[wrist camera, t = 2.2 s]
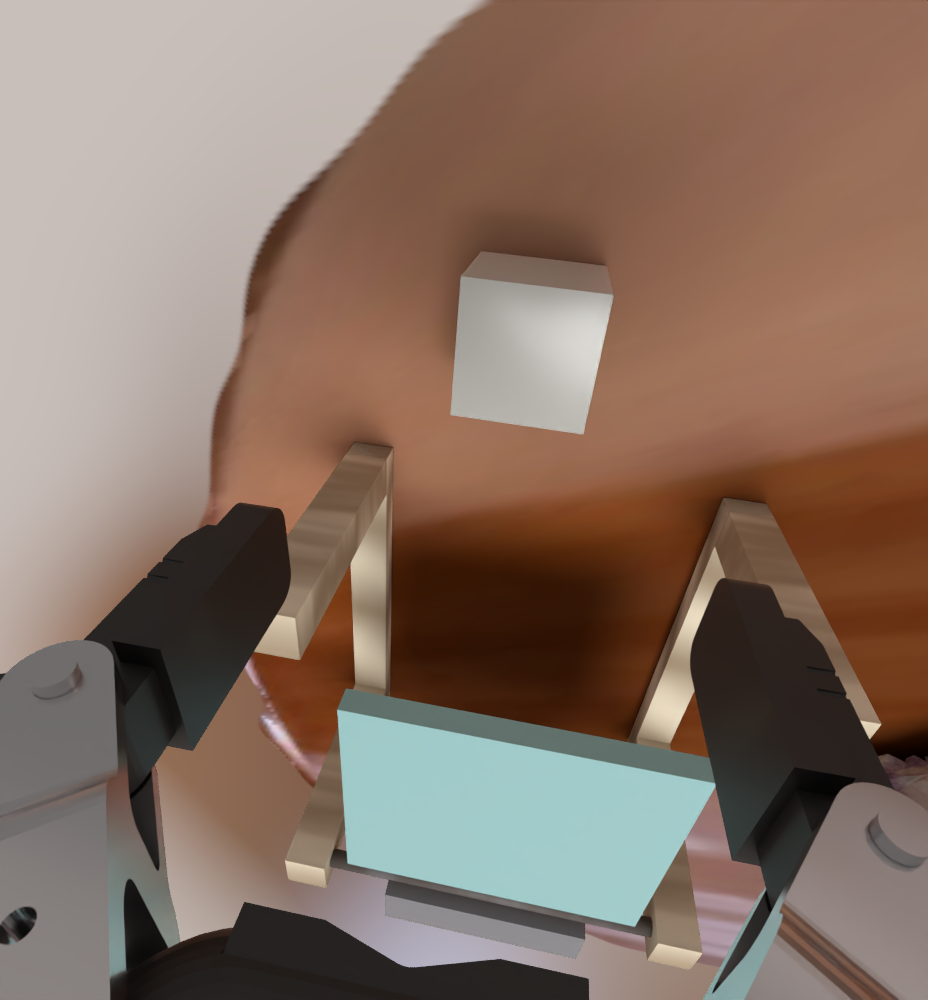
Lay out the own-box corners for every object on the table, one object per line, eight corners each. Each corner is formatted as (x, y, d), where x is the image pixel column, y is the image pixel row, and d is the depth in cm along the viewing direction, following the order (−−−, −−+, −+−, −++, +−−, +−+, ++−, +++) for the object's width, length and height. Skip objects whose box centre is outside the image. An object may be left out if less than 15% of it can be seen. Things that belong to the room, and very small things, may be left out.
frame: (354, 442, 29) (236, 607, 19) (766, 503, 27) (881, 724, 17) (361, 688, 39) (288, 879, 29) (658, 745, 37) (689, 969, 27)
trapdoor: (613, 931, 30) (615, 967, 29) (357, 874, 31) (348, 907, 30) (709, 750, 21) (718, 792, 20) (348, 682, 23) (334, 716, 21)
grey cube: (481, 250, 23) (460, 276, 19) (606, 265, 22) (614, 294, 18) (470, 369, 26) (450, 415, 22) (581, 385, 25) (583, 434, 21)
